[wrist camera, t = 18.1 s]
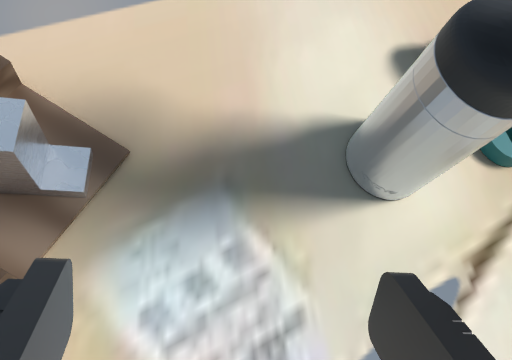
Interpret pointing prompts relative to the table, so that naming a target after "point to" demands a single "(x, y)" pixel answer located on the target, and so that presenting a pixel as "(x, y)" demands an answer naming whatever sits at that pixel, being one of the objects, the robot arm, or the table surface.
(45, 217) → the walnut corner tray
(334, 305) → the table surface
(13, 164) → the aluminium bracket
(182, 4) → the table surface
